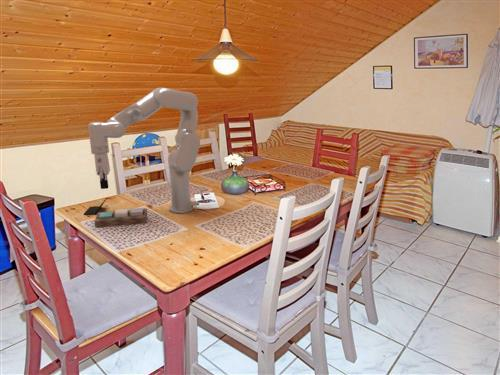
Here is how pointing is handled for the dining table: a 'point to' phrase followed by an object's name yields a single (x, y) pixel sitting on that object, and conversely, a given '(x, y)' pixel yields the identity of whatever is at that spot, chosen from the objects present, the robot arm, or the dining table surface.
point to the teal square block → (106, 215)
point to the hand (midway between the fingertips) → (104, 188)
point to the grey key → (136, 212)
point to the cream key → (121, 213)
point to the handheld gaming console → (94, 209)
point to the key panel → (121, 220)
